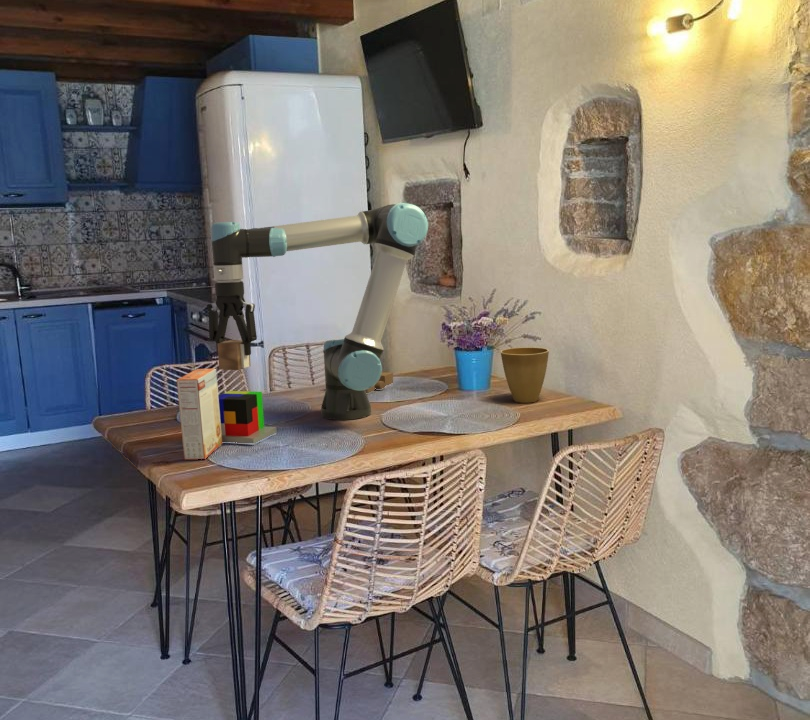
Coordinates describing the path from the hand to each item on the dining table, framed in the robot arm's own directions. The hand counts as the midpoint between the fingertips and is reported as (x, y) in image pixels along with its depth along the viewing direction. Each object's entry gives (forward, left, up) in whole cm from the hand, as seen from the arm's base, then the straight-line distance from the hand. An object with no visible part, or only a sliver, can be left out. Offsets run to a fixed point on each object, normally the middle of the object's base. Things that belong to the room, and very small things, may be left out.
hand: (234, 366), depth 220 cm
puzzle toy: (0, 0, -18) cm, 18 cm away
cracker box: (+1, +15, -20) cm, 25 cm away
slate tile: (0, 0, -20) cm, 20 cm away
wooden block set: (-6, -69, -21) cm, 72 cm away
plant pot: (-65, -62, -20) cm, 92 cm away
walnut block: (0, 0, 0) cm, 0 cm away
